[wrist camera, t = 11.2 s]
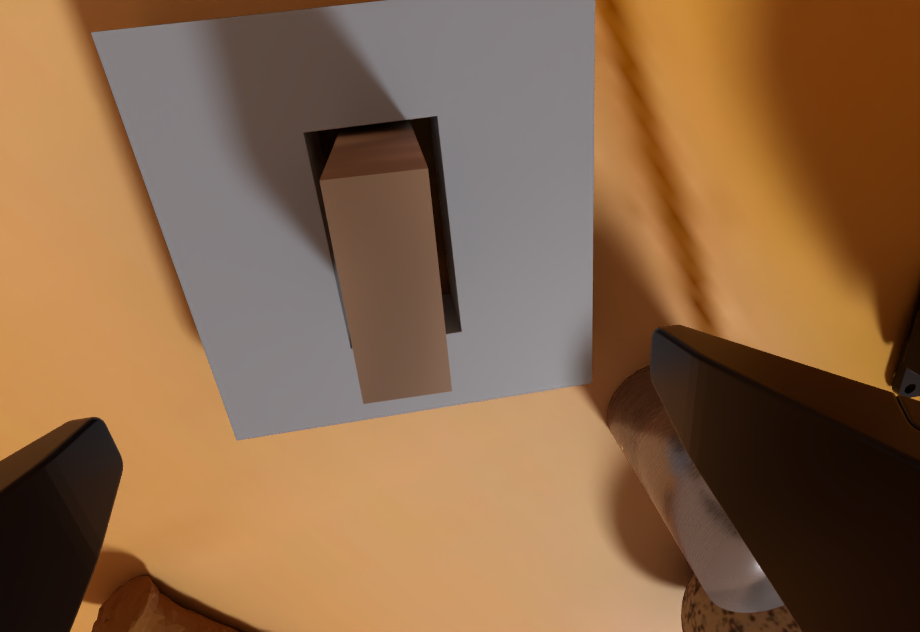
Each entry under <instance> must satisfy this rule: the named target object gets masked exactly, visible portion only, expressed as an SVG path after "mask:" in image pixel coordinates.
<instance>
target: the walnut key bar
mask: <svg viewBox="0 0 920 632" xmlns="http://www.w3.org/2000/svg"><path fill="white" fill-rule="evenodd" d="M319 181H320V186H321V191H322V196H323V201H324V207H325V212H326V217H327V222H328V227H329V232H330V237H331V242H332V247H333V252H334V257H335V262H336V267H337V273H338V278H339V283H340V288H341V293H342V298H343V303H344V308H345V313H346V318H347V323H348V328H349V333H350V339H351V344H352V349H353V354H354V359H355V364H356V369H357V374H358V379H359V384H360V389H361V394H362V399H363V404H368V403H374V402H381V401H388V400H395V399H402V398H409V397H416V396H423V395H430V394H437V393H443V392H450V391H452V385H451V376H450V367H449V358H448V348H447V339H446V330H445V321H444V312H443V302H442V293H441V284H440V275H439V265H438V256H437V247H436V238H435V228H434V219H433V210H432V201H431V191H430V182H429V173H428V167H427V164H426V162H425V159H424V157H423V154H422V151H421V149H420V146H419V144H418V141H417V138H416V136H415V133H414V131H413V128H412V125H411V123H410V120H401V121H393V122H384V123H376V124H368V125H360V126H352V127H344V128H340V131H339V133H338V136H337V138H336V141H335V143H334V146H333V148H332V151H331V153H330V156H329V158H328V161H327V163H326V165H325V168H324V170H323V173H322V175H321V178H320V180H319Z"/></svg>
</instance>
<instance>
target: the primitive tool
mask: <svg viewBox="0 0 920 632" xmlns="http://www.w3.org/2000/svg"><path fill="white" fill-rule="evenodd" d="M92 632H240V631H238V630H235V629H233V628H230V627H228V626H226V625H223V624H221V623H218V622H216V621H212V620H210V619H208V618H206V617H204V616H202V615H200V614H198V613H196V612H194V611H192V610H190V609H185V608H182V607H180V606H178V605H177V604H176V603H173V602H172V601H171V600H170V599H169V598H168V597H167V596H165V595H162V594H161V593H160V592H159V590H158V588H157V586H156V585H155V584H154V583H153V582H152V580H151V578H150V577H149V576H138V577H136V578H134V579H131V580H130V581H128V582H127V583H126V584H125V585H123V586H120V587H119V588H118V589H117V590H116V591H115V592H114V593H113V594H112V595H111V597H110V598H109V599H108V600H107V601H105V602H104V603H103V605H102V606H101V607H100V609H99V613H98V617H97V620H96V621H95V623H94V625H93V629H92Z"/></svg>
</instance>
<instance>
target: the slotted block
mask: <svg viewBox="0 0 920 632" xmlns="http://www.w3.org/2000/svg"><path fill="white" fill-rule="evenodd" d="M91 35H92V37H93V40H94V43H95V46H96V48H97V51H98V54H99V57H100V60H101V62H102V65H103V68H104V71H105V74H106V76H107V79H108V82H109V85H110V88H111V90H112V93H113V96H114V99H115V102H116V104H117V107H118V110H119V113H120V116H121V118H122V121H123V124H124V127H125V129H126V132H127V135H128V138H129V141H130V143H131V146H132V149H133V152H134V155H135V157H136V160H137V163H138V166H139V169H140V171H141V174H142V177H143V180H144V183H145V185H146V188H147V191H148V194H149V197H150V199H151V202H152V205H153V208H154V211H155V213H156V216H157V219H158V222H159V224H160V227H161V230H162V233H163V236H164V238H165V241H166V244H167V247H168V250H169V252H170V255H171V258H172V261H173V264H174V266H175V269H176V272H177V275H178V278H179V280H180V283H181V286H182V289H183V292H184V294H185V297H186V300H187V303H188V305H189V308H190V311H191V314H192V317H193V319H194V322H195V325H196V328H197V331H198V333H199V336H200V339H201V342H202V345H203V347H204V350H205V353H206V356H207V359H208V361H209V364H210V367H211V370H212V373H213V375H214V378H215V381H216V384H217V387H218V389H219V392H220V395H221V398H222V400H223V403H224V406H225V409H226V412H227V414H228V417H229V420H230V423H231V426H232V428H233V431H234V434H235V437H236V440H243V439H249V438H255V437H262V436H268V435H274V434H280V433H286V432H293V431H299V430H305V429H311V428H317V427H324V426H330V425H336V424H342V423H348V422H355V421H361V420H367V419H373V418H379V417H386V416H392V415H398V414H404V413H410V412H417V411H423V410H429V409H435V408H441V407H448V406H454V405H460V404H466V403H472V402H478V401H485V400H491V399H497V398H503V397H509V396H516V395H522V394H528V393H534V392H540V391H547V390H553V389H559V388H565V387H571V386H578V385H584V384H590V383H592V317H593V190H594V62H595V0H384V1H375V2H366V3H356V4H347V5H338V6H329V7H320V8H310V9H301V10H292V11H283V12H274V13H265V14H255V15H246V16H237V17H228V18H219V19H209V20H200V21H191V22H182V23H173V24H163V25H154V26H145V27H136V28H127V29H117V30H108V31H99V32H91ZM425 117H430V123H431V131H432V140H433V148H434V156H435V165H436V173H437V182H438V190H439V198H440V207H441V215H442V224H443V232H444V240H445V249H446V257H447V266H448V274H449V282H450V291H451V293H449V294H442V302H443V312H444V321H445V330H446V339H447V348H448V358H449V367H450V376H451V385H452V391H450V392H443V393H437V394H430V395H423V396H416V397H409V398H402V399H395V400H388V401H381V402H374V403H368V404H363V399H362V394H361V389H360V384H359V379H358V374H357V369H356V364H355V359H354V354H353V349H352V344H351V339H350V333H349V328H348V323H347V318H346V313H345V308H344V303H343V298H342V293H341V288H340V283H339V278H338V273H337V267H336V262H335V257H334V252H333V247H332V242H331V237H330V232H329V227H328V222H327V217H326V212H325V207H324V201H323V196H322V191H321V186H320V181H319V180H320V178H321V175H322V173H323V170H324V168H325V164H324V160H323V155H322V150H321V145H320V140H319V136H318V131H320V130H328V129H336V128H344V127H352V126H360V125H368V124H376V123H384V122H393V121H401V120H409V119H417V118H425Z"/></svg>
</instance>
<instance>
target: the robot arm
mask: <svg viewBox="0 0 920 632" xmlns="http://www.w3.org/2000/svg"><path fill="white" fill-rule="evenodd" d="M650 375H651V380H652V383H653V385H654V387H655V389H656V391H657V393H658V395H659V397H660V399H661V402H662V404H663V406H664V408H665V410H666V412H667V414H668V416H669V418H670V420H671V422H672V424H673V426H674V428H675V430H676V432H677V434H678V436H679V438H680V440H681V442H682V444H683V446H684V448H685V450H686V452H687V454H688V456H689V457H690V459H691V460H692V462H693V464H694V465H695V467H696V469H697V470H698V472H699V473H700V475H701V476H702V478H703V479H704V481H705V483H706V484H707V486H708V487H709V489H710V490H711V492H712V493H713V495H714V496H715V498H716V500H717V501H718V503H719V504H720V506H721V507H722V509H723V510H724V512H725V514H726V515H727V517H728V518H729V520H730V521H731V523H732V524H733V526H734V527H735V529H736V531H737V532H738V534H739V535H740V537H741V538H742V540H743V541H744V543H745V544H746V546H747V548H748V549H749V551H750V552H751V554H752V555H753V557H754V558H755V560H756V562H757V563H758V565H759V566H760V568H761V569H762V571H763V572H764V574H765V575H766V577H767V579H768V580H769V582H770V583H771V585H772V586H773V588H774V589H775V591H776V592H777V594H778V596H779V597H780V599H781V600H782V602H783V603H784V605H785V606H786V608H787V610H788V611H789V613H790V614H791V616H792V617H793V619H794V620H795V622H796V623H797V625H798V627H799V628H800V630H801V631H802V632H920V401H918V400H914V399H911V397H917V396H920V294H919V298H918V301H917V304H916V308H915V311H914V314H913V318H912V321H911V324H910V328H909V331H908V334H907V338H906V341H905V344H904V348H903V351H902V354H901V358H900V361H899V364H898V368H897V371H896V374H895V378H894V381H893V384H892V390H893V392H895V393H896V394H897V395H898V396H897V397H896V396H895V394H894V393H892V392H889V391H886V390H883V389H880V388H876V387H873V386H870V385H867V384H864V383H861V382H858V381H854V380H851V379H848V378H845V377H842V376H839V375H836V374H833V373H829V372H826V371H823V370H820V369H817V368H814V367H811V366H807V365H804V364H801V363H798V362H795V361H792V360H789V359H786V358H782V357H779V356H776V355H773V354H770V353H767V352H764V351H760V350H757V349H754V348H751V347H748V346H745V345H742V344H738V343H735V342H732V341H729V340H726V339H723V338H720V337H717V336H713V335H710V334H707V333H704V332H701V331H698V330H695V329H691V328H688V327H685V326H682V325H672V326H665V327H660V328H657V329H656V330H655V331H654V332H653V336H652V346H651V362H650ZM122 471H123V462H122V458H121V455H120V453H119V451H118V449H117V447H116V444H115V442H114V440H113V438H112V436H111V434H110V432H109V430H108V428H107V426H106V424H105V423H104V421H103V420H101V419H100V418H97V417H90V418H83V419H77V420H72V421H69V422H66V423H65V424H63V425H61V426H60V427H58V428H56V429H54V430H53V431H51V432H49V433H48V434H46V435H44V436H43V437H41V438H39V439H37V440H36V441H34V442H32V443H31V444H29V445H27V446H25V447H24V448H22V449H20V450H19V451H17V452H15V453H13V454H12V455H10V456H8V457H7V458H5V459H3V460H2V461H0V632H70V630H71V628H72V625H73V623H74V620H75V618H76V615H77V613H78V610H79V608H80V605H81V603H82V600H83V598H84V595H85V593H86V590H87V587H88V585H89V582H90V580H91V577H92V575H93V572H94V569H95V567H96V564H97V561H98V558H99V555H100V551H101V548H102V545H103V541H104V538H105V534H106V531H107V527H108V523H109V520H110V516H111V512H112V509H113V505H114V501H115V498H116V494H117V490H118V487H119V483H120V479H121V476H122Z"/></svg>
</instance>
